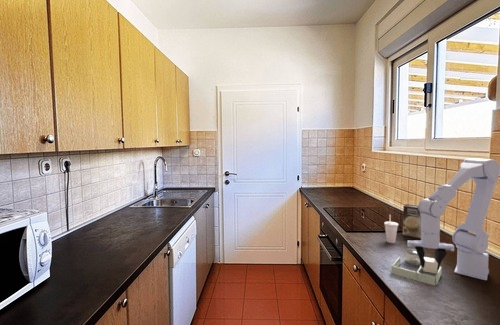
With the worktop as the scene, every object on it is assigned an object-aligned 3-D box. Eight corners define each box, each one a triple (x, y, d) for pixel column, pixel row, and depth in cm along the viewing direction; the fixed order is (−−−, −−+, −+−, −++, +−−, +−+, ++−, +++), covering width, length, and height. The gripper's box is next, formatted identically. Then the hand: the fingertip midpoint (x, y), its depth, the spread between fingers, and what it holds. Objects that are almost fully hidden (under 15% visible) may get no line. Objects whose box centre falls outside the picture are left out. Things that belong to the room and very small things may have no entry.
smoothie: (385, 238, 143) (386, 212, 142) (399, 241, 139) (399, 214, 138) (382, 242, 138) (382, 215, 137) (396, 245, 134) (397, 217, 133)
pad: (439, 274, 104) (439, 273, 104) (434, 284, 97) (434, 284, 96) (423, 270, 107) (424, 269, 107) (418, 280, 100) (418, 279, 100)
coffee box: (402, 234, 148) (402, 205, 147) (405, 231, 153) (405, 203, 152) (421, 238, 142) (422, 208, 141) (424, 235, 146) (424, 206, 145)
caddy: (441, 274, 104) (441, 266, 103) (436, 286, 96) (436, 277, 95) (399, 263, 114) (399, 256, 113) (391, 273, 106) (391, 265, 105)
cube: (433, 268, 103) (434, 258, 103) (436, 273, 100) (438, 263, 99) (421, 266, 105) (422, 256, 104) (423, 271, 101) (425, 261, 100)
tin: (425, 262, 115) (425, 251, 114) (421, 267, 110) (422, 256, 110) (407, 257, 119) (407, 247, 119) (403, 262, 114) (403, 251, 114)
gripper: (450, 229, 102) (449, 265, 103) (406, 226, 107) (405, 260, 108) (456, 236, 95) (455, 273, 96) (409, 232, 100) (409, 268, 101)
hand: (429, 267), depth 102 cm, fingers closed on cube, 4 cm apart
